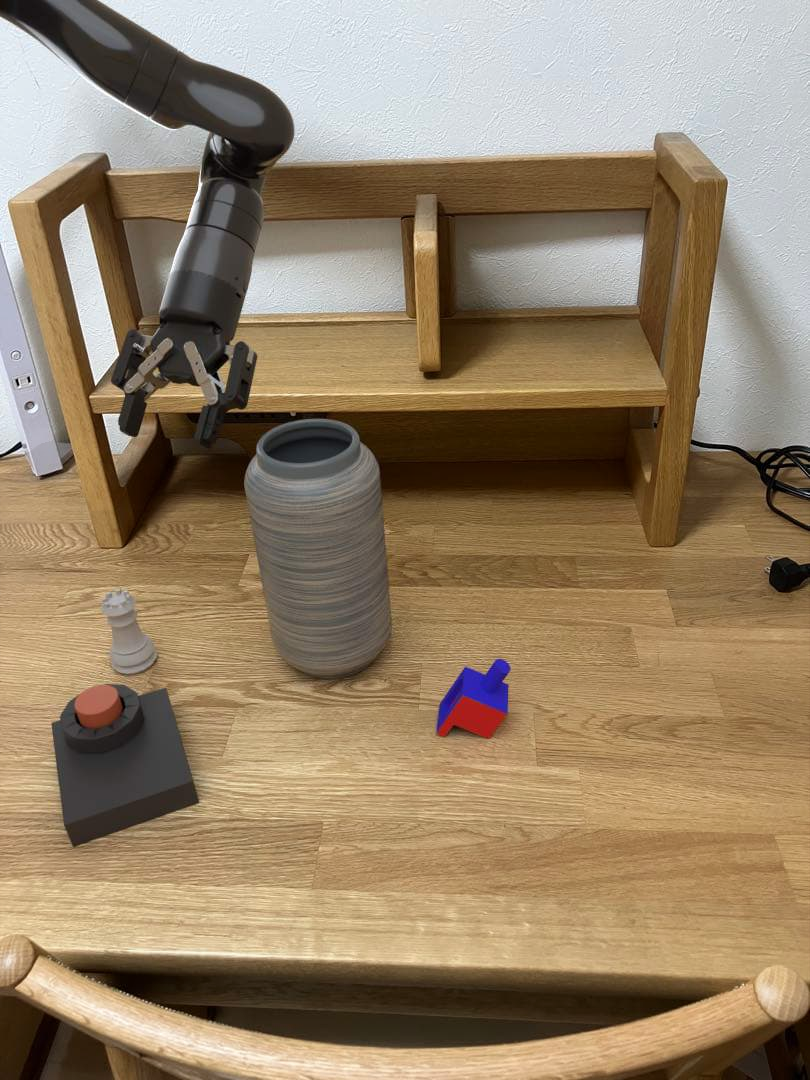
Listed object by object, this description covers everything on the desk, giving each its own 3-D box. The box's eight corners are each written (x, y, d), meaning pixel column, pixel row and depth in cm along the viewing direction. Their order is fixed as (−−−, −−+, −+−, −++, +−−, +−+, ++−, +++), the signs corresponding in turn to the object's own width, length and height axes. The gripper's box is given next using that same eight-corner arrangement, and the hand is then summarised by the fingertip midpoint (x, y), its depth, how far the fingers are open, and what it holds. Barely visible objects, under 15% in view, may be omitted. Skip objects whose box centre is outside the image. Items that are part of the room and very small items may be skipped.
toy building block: (479, 751, 78) (523, 692, 73) (435, 733, 77) (477, 673, 73) (481, 721, 81) (523, 663, 76) (439, 703, 80) (479, 644, 76)
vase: (332, 598, 95) (307, 399, 82) (418, 641, 88) (405, 431, 75) (250, 657, 87) (209, 449, 75) (336, 708, 81) (307, 490, 68)
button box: (58, 738, 80) (44, 701, 77) (170, 703, 83) (160, 667, 80) (73, 847, 70) (57, 809, 67) (199, 803, 73) (188, 765, 70)
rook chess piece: (166, 662, 88) (148, 597, 83) (124, 683, 85) (103, 618, 81) (145, 640, 91) (127, 576, 86) (104, 661, 88) (83, 596, 84)
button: (77, 707, 77) (72, 692, 76) (119, 694, 78) (114, 679, 77) (81, 734, 74) (76, 719, 73) (125, 721, 75) (120, 706, 74)
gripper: (126, 262, 88) (80, 418, 85) (253, 272, 83) (207, 438, 81) (168, 297, 95) (126, 442, 92) (287, 308, 90) (246, 462, 88)
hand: (164, 440), depth 86 cm, fingers open, 8 cm apart
